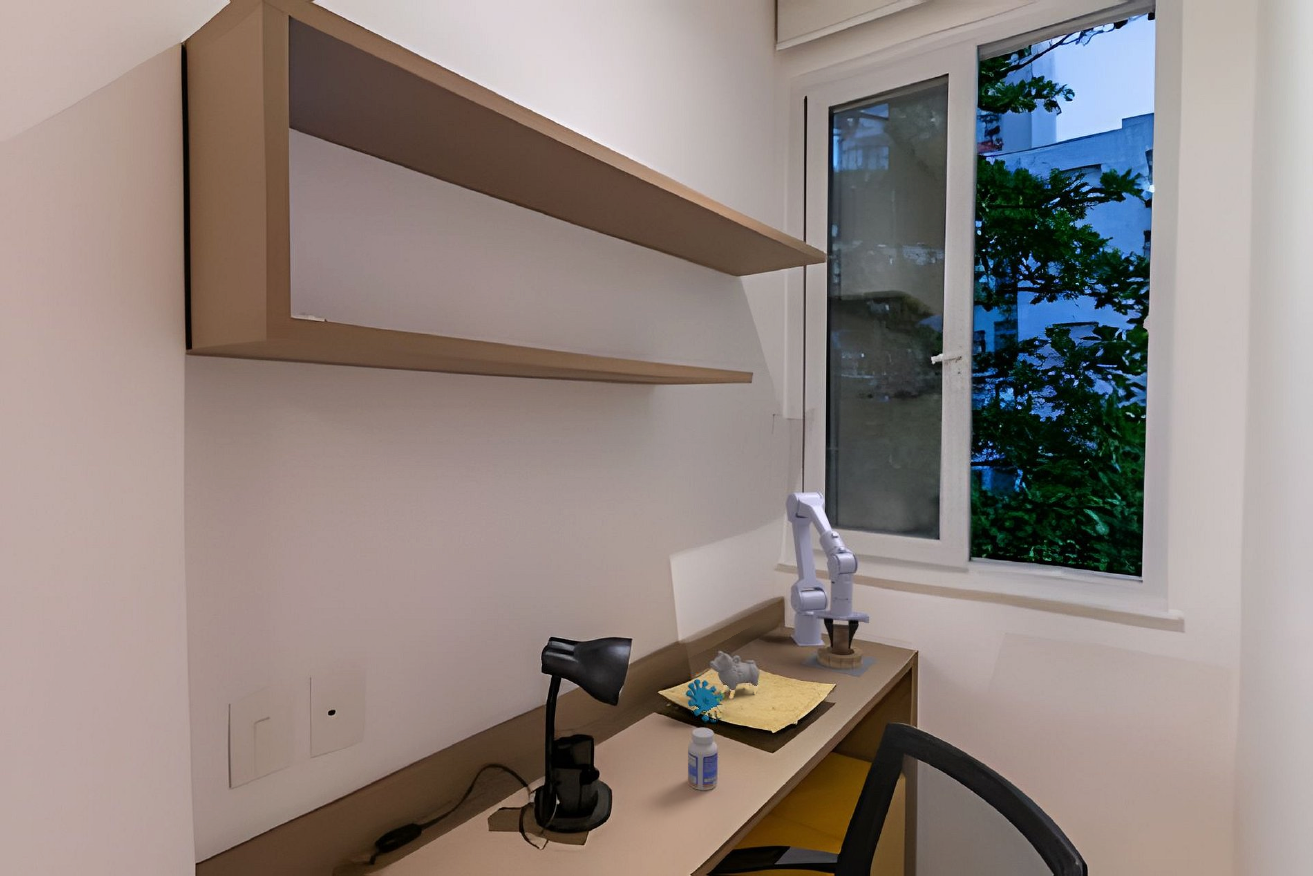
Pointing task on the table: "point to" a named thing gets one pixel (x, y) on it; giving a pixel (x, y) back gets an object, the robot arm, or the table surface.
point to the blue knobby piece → (703, 698)
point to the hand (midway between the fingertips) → (840, 646)
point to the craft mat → (855, 672)
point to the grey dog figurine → (735, 670)
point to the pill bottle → (702, 760)
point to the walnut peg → (840, 639)
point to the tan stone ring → (840, 657)
